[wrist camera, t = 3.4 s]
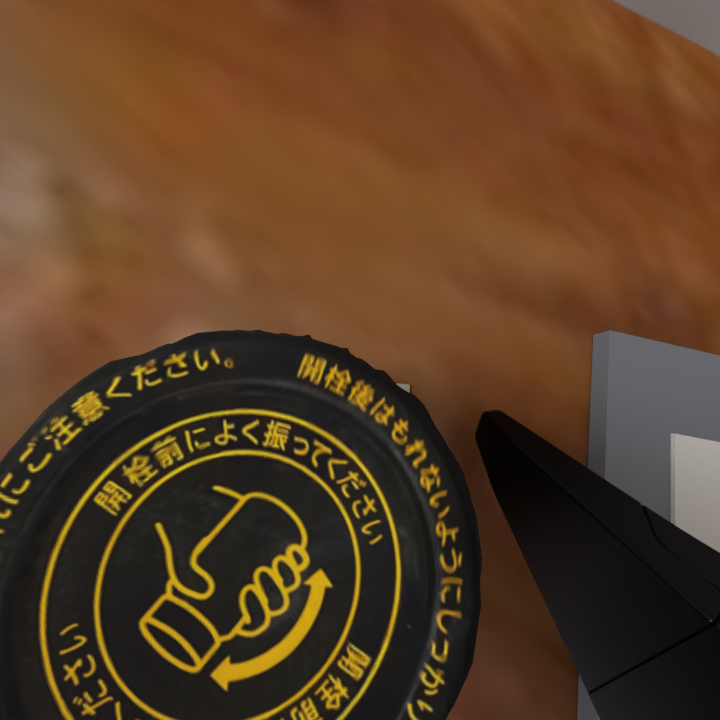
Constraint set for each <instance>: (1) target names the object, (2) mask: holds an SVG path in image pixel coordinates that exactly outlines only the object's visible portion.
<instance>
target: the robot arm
mask: <svg viewBox="0 0 720 720" xmlns="http://www.w3.org/2000/svg"><path fill="white" fill-rule="evenodd" d="M475 438H476V442H477V445H478V448H479V451H480V454H481V457H482V460H483V462H484V465H485V468H486V471H487V474H488V477H489V480H490V483H491V485H492V488H493V491H494V493H495V496H496V498H497V500H498V502H499V505H500V507H501V509H502V511H503V513H504V515H505V517H506V520H507V522H508V524H509V526H510V528H511V530H512V532H513V535H514V537H515V539H516V541H517V543H518V545H519V547H520V549H521V552H522V554H523V556H524V558H525V560H526V562H527V564H528V566H529V569H530V571H531V573H532V575H533V577H534V579H535V581H536V584H537V586H538V588H539V590H540V592H541V594H542V596H543V598H544V601H545V603H546V605H547V607H548V609H549V611H550V613H551V616H552V618H553V620H554V622H555V624H556V626H557V628H558V630H559V633H560V635H561V637H562V639H563V641H564V643H565V645H566V648H567V650H568V652H569V654H570V656H571V658H572V660H573V662H574V665H575V667H576V669H577V671H578V673H579V675H580V677H581V680H582V682H583V684H584V686H585V688H586V690H587V692H588V693H589V697H590V699H591V701H592V704H593V706H594V708H595V710H596V712H597V714H598V716H599V719H600V720H720V552H718V551H716V550H715V549H713V548H711V547H710V546H708V545H706V544H705V543H703V542H701V541H700V540H698V539H696V538H695V537H693V536H691V535H690V534H688V533H687V532H685V531H684V530H682V529H680V528H679V527H677V526H676V525H674V524H673V523H671V522H669V521H668V520H666V519H665V518H663V517H662V516H660V515H659V514H657V513H656V512H654V511H652V510H651V509H649V508H648V507H646V506H645V505H641V503H640V502H639V501H637V500H636V499H634V498H633V497H631V496H629V495H628V494H626V493H625V492H623V491H622V490H620V489H619V488H617V487H616V486H614V485H613V484H611V483H610V482H608V481H607V480H605V479H604V478H602V477H601V476H599V475H598V474H596V473H595V472H593V471H591V470H590V469H588V468H587V467H585V466H584V465H582V464H581V463H579V462H578V461H576V460H575V459H573V458H572V457H570V456H569V455H567V454H566V453H564V452H563V451H561V450H560V449H558V448H557V447H555V446H553V445H552V444H550V443H549V442H547V441H546V440H544V439H543V438H541V437H540V436H538V435H537V434H535V433H534V432H532V431H531V430H529V429H528V428H526V427H525V426H523V425H522V424H520V423H519V422H517V421H515V420H514V419H512V418H511V417H509V416H508V415H506V414H505V413H503V412H502V411H500V410H491V411H485V412H483V413H482V415H481V418H480V421H479V424H478V426H477V429H476V433H475Z"/></svg>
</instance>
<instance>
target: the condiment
mask: <svg viewBox="0 0 720 720" xmlns="http://www.w3.org/2000/svg"><path fill="white" fill-rule="evenodd" d="M409 392H410V385H408V384H398V383H395V382H394V381H393V380H392V379H391V378H390V376H389V375H388V374H387V373H386V372H385V371H383V370H376V369H374V368H373V367H371V366H370V365H369V364H368V363H367V362H365V361H364V360H362V359H360V358H356V357H355V356H353V355H352V354H350V352H349V350H348V349H347V348H340V347H337V346H334V345H331V344H327V343H324V342H320V341H317V340H314V339H312V338H311V337H310V336H309V335H305V336H293V335H290V334H285V333H280V334H274V333H269V332H264V331H261V330H254V331H244V330H234V331H214V332H204V333H196V334H194V335H191V336H188V337H185V338H184V339H182V340H180V341H177V342H175V343H173V344H166V345H163V346H160V347H158V348H156V349H154V350H152V351H150V352H147V353H145V354H142V355H138V356H133V357H129V358H124V359H119V360H114V361H110V362H109V363H107V364H106V365H104V366H102V367H101V368H99V369H97V370H96V371H94V372H93V373H91V374H90V375H88V376H86V377H85V378H83V379H82V380H81V381H79V382H78V383H77V384H75V385H74V386H73V387H71V388H70V389H69V390H68V391H67V392H65V393H64V394H63V395H62V396H61V397H59V398H58V399H57V400H56V401H55V402H54V403H53V404H51V405H50V406H49V407H48V408H47V409H46V410H44V411H43V412H42V413H41V415H40V416H39V417H38V418H37V419H36V421H35V422H34V423H33V424H32V425H31V427H30V428H29V429H28V430H27V431H26V432H25V434H24V435H23V436H22V437H21V438H20V439H19V440H18V441H17V442H16V444H15V445H14V446H13V447H12V448H11V449H10V450H9V452H8V453H7V454H6V455H5V456H4V458H3V459H2V460H1V461H0V720H446V718H447V716H448V714H449V712H450V710H451V709H452V707H453V706H454V704H455V702H456V699H457V697H458V695H459V693H460V691H461V689H462V686H463V684H464V682H465V680H466V678H467V675H468V673H469V670H470V668H471V665H472V662H473V656H474V649H475V643H476V636H477V628H478V621H479V615H480V608H481V598H480V574H481V561H482V557H481V548H480V540H479V532H478V525H477V519H476V513H475V511H474V508H473V505H472V502H471V496H470V492H469V489H468V486H467V483H466V480H465V477H464V473H463V471H462V469H461V467H460V465H459V463H458V462H457V460H456V458H455V457H454V455H453V454H452V452H451V451H450V449H449V448H448V446H447V445H446V443H445V441H444V439H443V437H442V436H441V434H440V433H439V431H438V430H437V428H436V426H435V425H434V423H433V421H432V419H431V417H430V415H429V413H428V411H427V410H426V408H425V406H424V405H423V403H422V402H421V401H420V400H419V399H418V398H417V397H416V396H415V395H413V394H411V393H409Z"/></svg>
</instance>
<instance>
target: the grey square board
mask: <svg viewBox="0 0 720 720" xmlns="http://www.w3.org/2000/svg"><path fill="white" fill-rule="evenodd" d="M588 469H590V470H591V471H593V472H595V473H596V474H598V475H599V476H601V477H602V478H604V479H605V480H607V481H608V482H610V483H611V484H613V485H614V486H616V487H617V488H619V489H620V490H622V491H623V492H625V493H626V494H628V495H629V496H631V497H633V498H634V499H636V500H637V501H639V502H640V503H641V505H645V506H646V507H648V508H649V509H651V510H652V511H654V512H656V513H657V514H659V515H660V516H662V517H663V518H665V519H666V520H668V521H669V522H671V523H673V524H674V525H676V526H677V527H679V528H680V529H682V530H684V531H685V532H687V533H688V534H690V535H691V536H693V537H695V538H696V539H698V540H700V541H701V542H703V543H705V544H706V545H708V546H710V547H711V548H713V549H715V550H716V551H718V552H720V355H715V354H711V353H707V352H702V351H698V350H694V349H689V348H685V347H680V346H676V345H672V344H667V343H663V342H659V341H654V340H650V339H646V338H641V337H637V336H633V335H628V334H624V333H619V332H615V331H611V330H609V331H605V332H602V333H598V334H595V335H593V353H592V377H591V401H590V424H589V448H588ZM577 720H600V719H599V716H598V714H597V712H596V710H595V708H594V706H593V704H592V701H591V699H590V697H589V693H588V692H587V690H586V688H585V686H584V684H583V682H582V680H581V677H580V675H579V685H578V708H577Z"/></svg>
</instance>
